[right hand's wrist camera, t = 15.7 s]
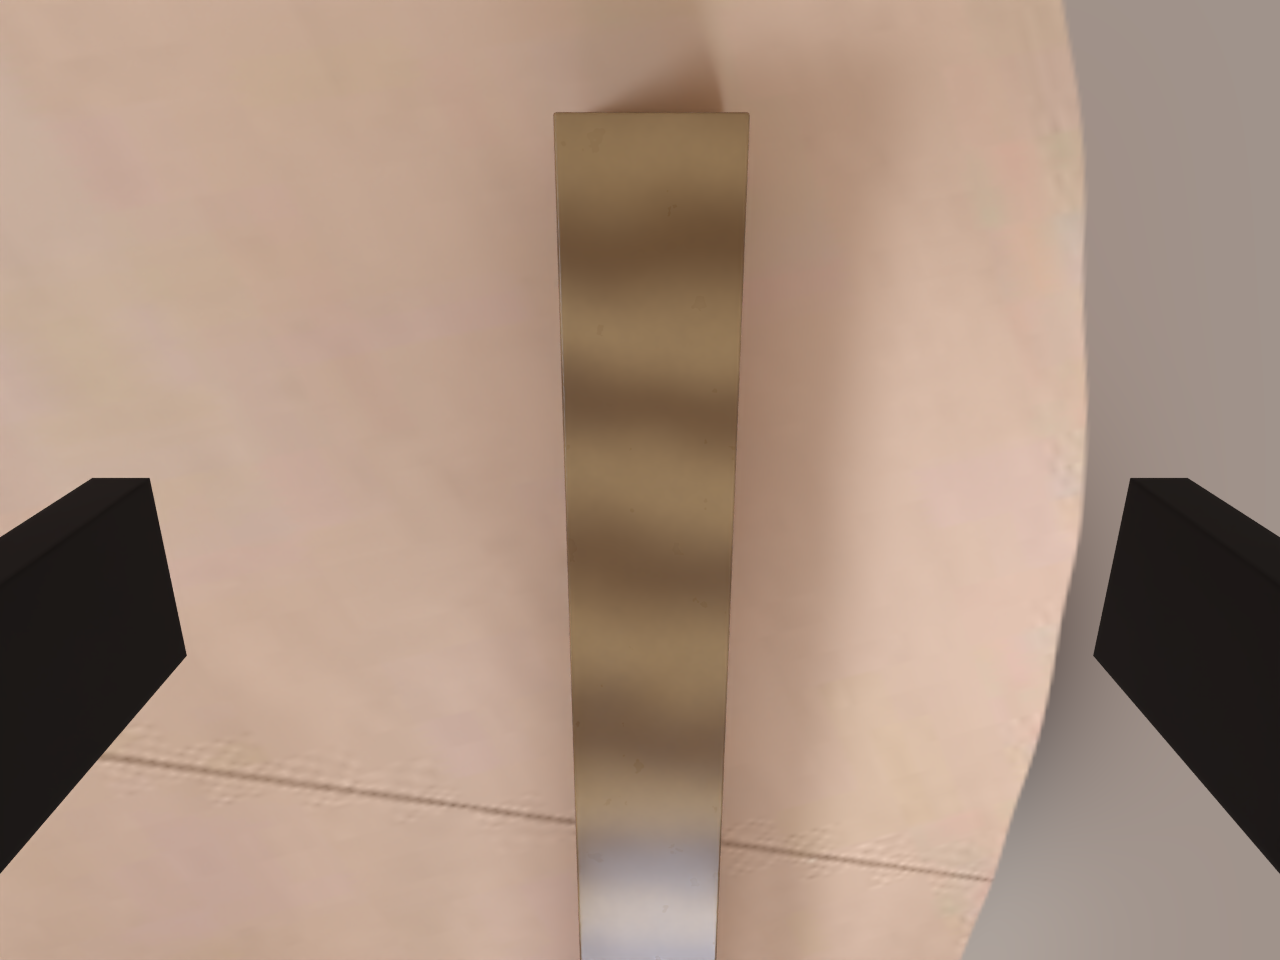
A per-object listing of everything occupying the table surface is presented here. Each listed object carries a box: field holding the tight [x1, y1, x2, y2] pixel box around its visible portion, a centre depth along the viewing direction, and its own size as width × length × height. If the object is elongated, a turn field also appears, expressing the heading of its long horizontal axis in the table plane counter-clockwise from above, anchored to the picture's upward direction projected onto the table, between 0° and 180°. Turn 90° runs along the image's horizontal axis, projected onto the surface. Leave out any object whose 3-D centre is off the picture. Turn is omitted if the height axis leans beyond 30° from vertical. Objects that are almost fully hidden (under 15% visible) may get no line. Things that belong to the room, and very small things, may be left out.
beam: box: [553, 112, 750, 960], centre depth 38 cm, size 50×5×9 cm, turn 0°
